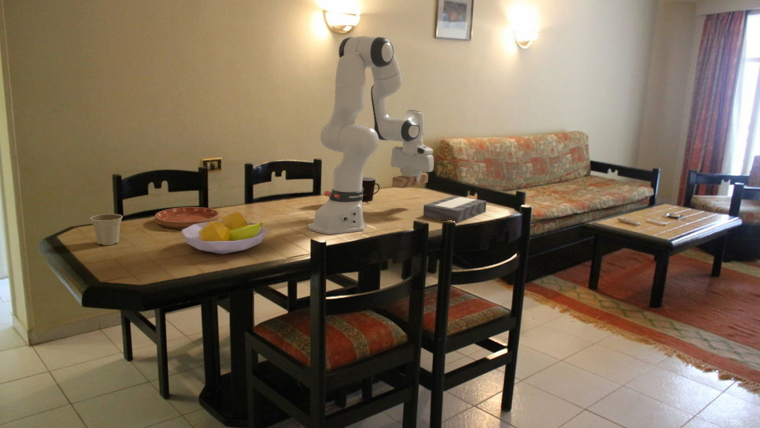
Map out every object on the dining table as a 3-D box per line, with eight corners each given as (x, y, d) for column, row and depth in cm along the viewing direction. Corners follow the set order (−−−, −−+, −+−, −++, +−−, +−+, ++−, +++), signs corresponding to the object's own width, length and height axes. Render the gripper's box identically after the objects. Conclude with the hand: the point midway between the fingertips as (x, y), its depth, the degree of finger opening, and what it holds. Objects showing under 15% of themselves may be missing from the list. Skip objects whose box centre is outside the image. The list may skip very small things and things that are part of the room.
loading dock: (457, 223, 230) (458, 210, 228) (423, 216, 238) (423, 204, 237) (485, 211, 252) (486, 200, 251) (453, 206, 261) (454, 195, 260)
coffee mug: (353, 198, 269) (354, 177, 267) (370, 197, 273) (371, 177, 270) (363, 203, 259) (364, 182, 257) (380, 202, 262) (381, 181, 260)
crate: (410, 177, 243) (410, 167, 243) (402, 175, 246) (402, 166, 245) (415, 176, 247) (415, 167, 246) (407, 174, 249) (407, 165, 248)
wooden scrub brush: (402, 188, 238) (402, 178, 237) (392, 186, 241) (392, 177, 240) (427, 182, 256) (428, 173, 255) (418, 181, 259) (418, 172, 258)
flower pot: (115, 237, 191) (113, 212, 189) (129, 243, 185) (128, 217, 183) (87, 242, 184) (84, 216, 182) (100, 248, 178) (98, 222, 176)
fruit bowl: (167, 245, 184) (166, 211, 181) (241, 232, 203) (240, 201, 200) (210, 267, 165) (208, 230, 162) (286, 251, 184) (286, 217, 181)
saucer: (217, 230, 205) (217, 220, 204) (150, 231, 200) (150, 221, 199) (221, 215, 227) (220, 206, 226) (160, 216, 222) (160, 207, 221)
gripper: (388, 146, 248) (386, 177, 251) (429, 151, 237) (427, 183, 240) (396, 145, 253) (394, 175, 256) (436, 150, 242) (434, 182, 245)
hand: (410, 179), depth 248 cm, fingers closed on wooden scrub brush, 5 cm apart
